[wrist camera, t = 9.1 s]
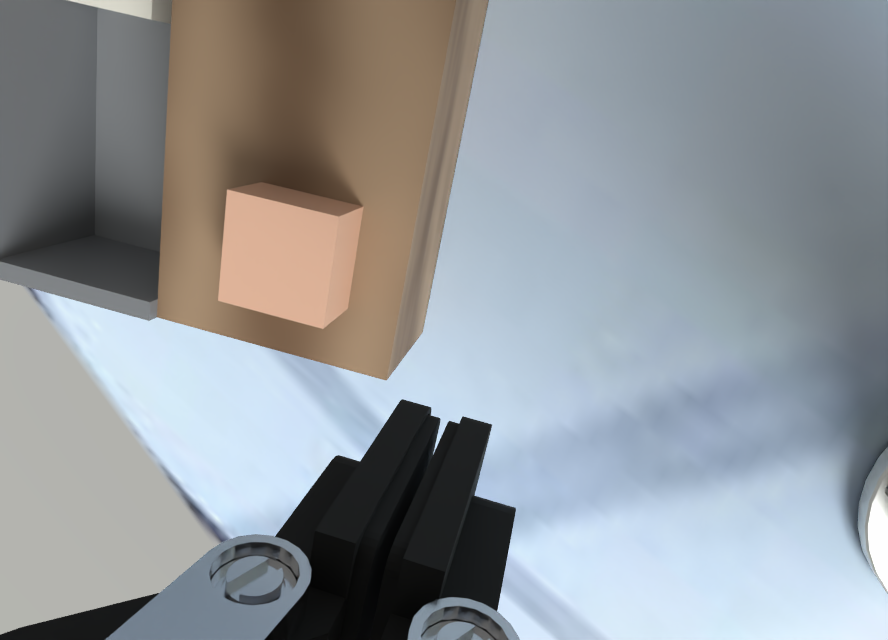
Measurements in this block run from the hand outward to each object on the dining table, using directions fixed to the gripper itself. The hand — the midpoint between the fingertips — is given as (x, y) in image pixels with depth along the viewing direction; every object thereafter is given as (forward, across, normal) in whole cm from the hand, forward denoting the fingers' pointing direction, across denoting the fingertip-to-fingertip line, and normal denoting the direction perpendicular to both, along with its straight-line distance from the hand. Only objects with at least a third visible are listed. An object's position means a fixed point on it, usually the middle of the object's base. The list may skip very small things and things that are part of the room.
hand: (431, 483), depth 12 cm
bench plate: (+19, +9, -4) cm, 21 cm away
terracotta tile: (+13, +8, 0) cm, 15 cm away
